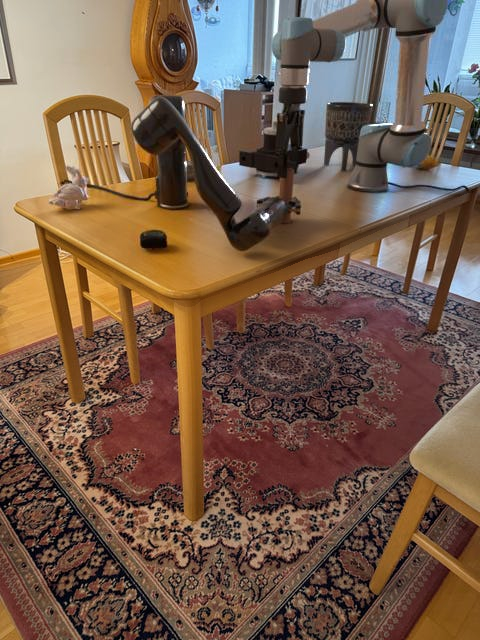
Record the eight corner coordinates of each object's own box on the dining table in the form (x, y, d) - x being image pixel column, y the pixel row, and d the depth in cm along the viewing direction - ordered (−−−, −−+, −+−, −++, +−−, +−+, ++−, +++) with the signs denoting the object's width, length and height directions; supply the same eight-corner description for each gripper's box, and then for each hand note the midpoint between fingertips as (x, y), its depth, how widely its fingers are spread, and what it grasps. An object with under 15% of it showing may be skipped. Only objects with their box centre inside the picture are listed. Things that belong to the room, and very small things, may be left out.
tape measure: (140, 252, 115) (139, 238, 113) (141, 242, 120) (140, 229, 119) (167, 251, 116) (166, 237, 114) (167, 241, 121) (166, 228, 120)
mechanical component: (240, 120, 182) (283, 115, 202) (239, 174, 192) (280, 164, 212) (283, 126, 170) (325, 120, 190) (280, 183, 180) (320, 171, 200)
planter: (313, 167, 208) (319, 103, 195) (331, 160, 222) (338, 101, 209) (353, 173, 199) (362, 107, 185) (369, 166, 213) (379, 104, 199)
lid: (299, 166, 131) (299, 160, 131) (288, 168, 128) (289, 162, 128) (286, 164, 134) (286, 158, 133) (276, 166, 131) (276, 160, 130)
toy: (413, 162, 205) (407, 155, 217) (415, 176, 208) (410, 168, 220) (439, 154, 201) (432, 147, 214) (441, 168, 204) (434, 161, 217)
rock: (201, 174, 190) (201, 158, 187) (214, 178, 185) (214, 162, 181) (174, 179, 183) (173, 162, 179) (187, 183, 177) (186, 166, 174)
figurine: (98, 204, 150) (92, 164, 144) (60, 215, 140) (52, 173, 133) (82, 200, 154) (76, 161, 148) (43, 210, 143) (35, 169, 137)
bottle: (290, 219, 141) (295, 163, 132) (289, 223, 137) (294, 166, 129) (278, 218, 141) (281, 162, 133) (276, 222, 138) (280, 165, 130)
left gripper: (296, 204, 121) (311, 189, 135) (246, 197, 125) (266, 184, 139) (293, 231, 125) (309, 214, 138) (245, 224, 129) (265, 208, 143)
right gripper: (295, 84, 130) (289, 167, 141) (264, 87, 115) (260, 180, 127) (319, 86, 127) (311, 170, 138) (291, 89, 112) (284, 183, 124)
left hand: (287, 199), depth 139 cm, fingers closed on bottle, 4 cm apart
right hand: (287, 175), depth 133 cm, fingers open, 6 cm apart
